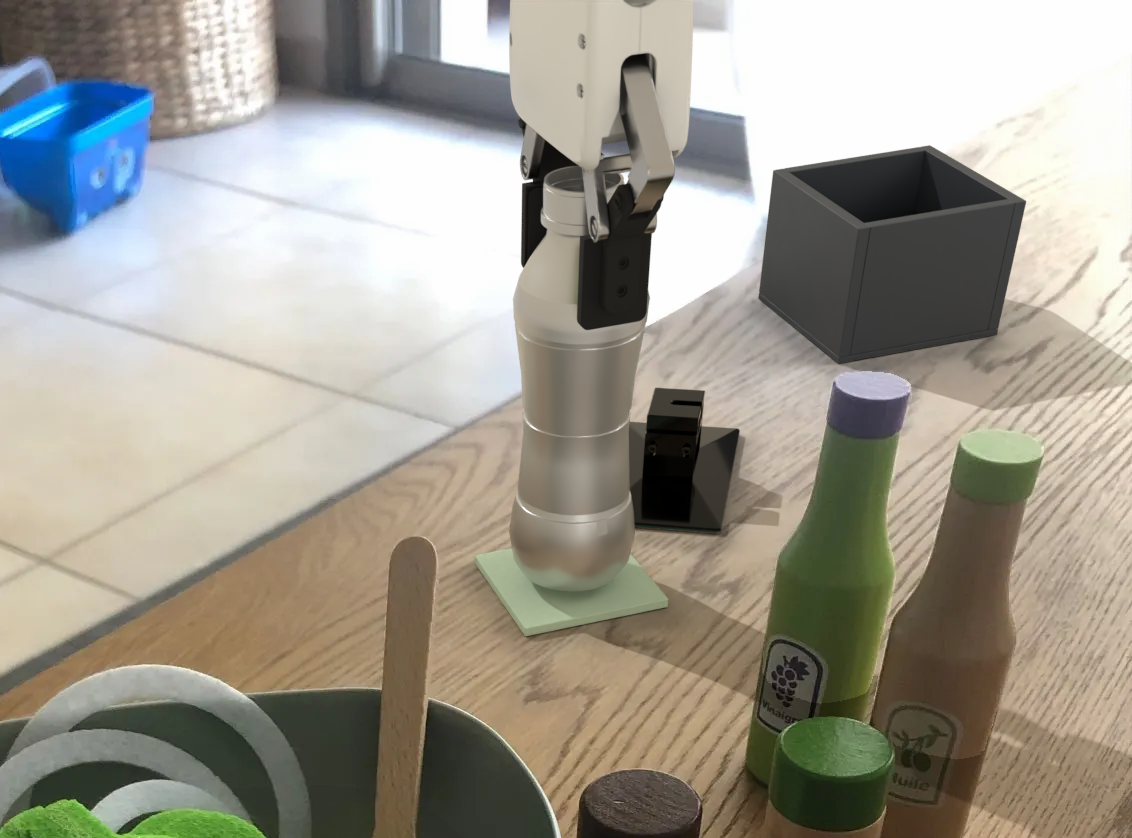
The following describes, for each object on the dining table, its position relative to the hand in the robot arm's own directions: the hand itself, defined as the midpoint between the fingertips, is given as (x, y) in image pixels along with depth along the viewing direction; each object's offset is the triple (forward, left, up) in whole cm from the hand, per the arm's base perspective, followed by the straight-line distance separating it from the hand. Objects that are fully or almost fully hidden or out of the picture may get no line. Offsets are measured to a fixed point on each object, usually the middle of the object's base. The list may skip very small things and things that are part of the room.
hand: (581, 290), depth 77 cm
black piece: (-10, -9, -16) cm, 21 cm away
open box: (-32, -25, -16) cm, 43 cm away
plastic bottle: (0, 0, -15) cm, 15 cm away
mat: (0, 0, -16) cm, 16 cm away
